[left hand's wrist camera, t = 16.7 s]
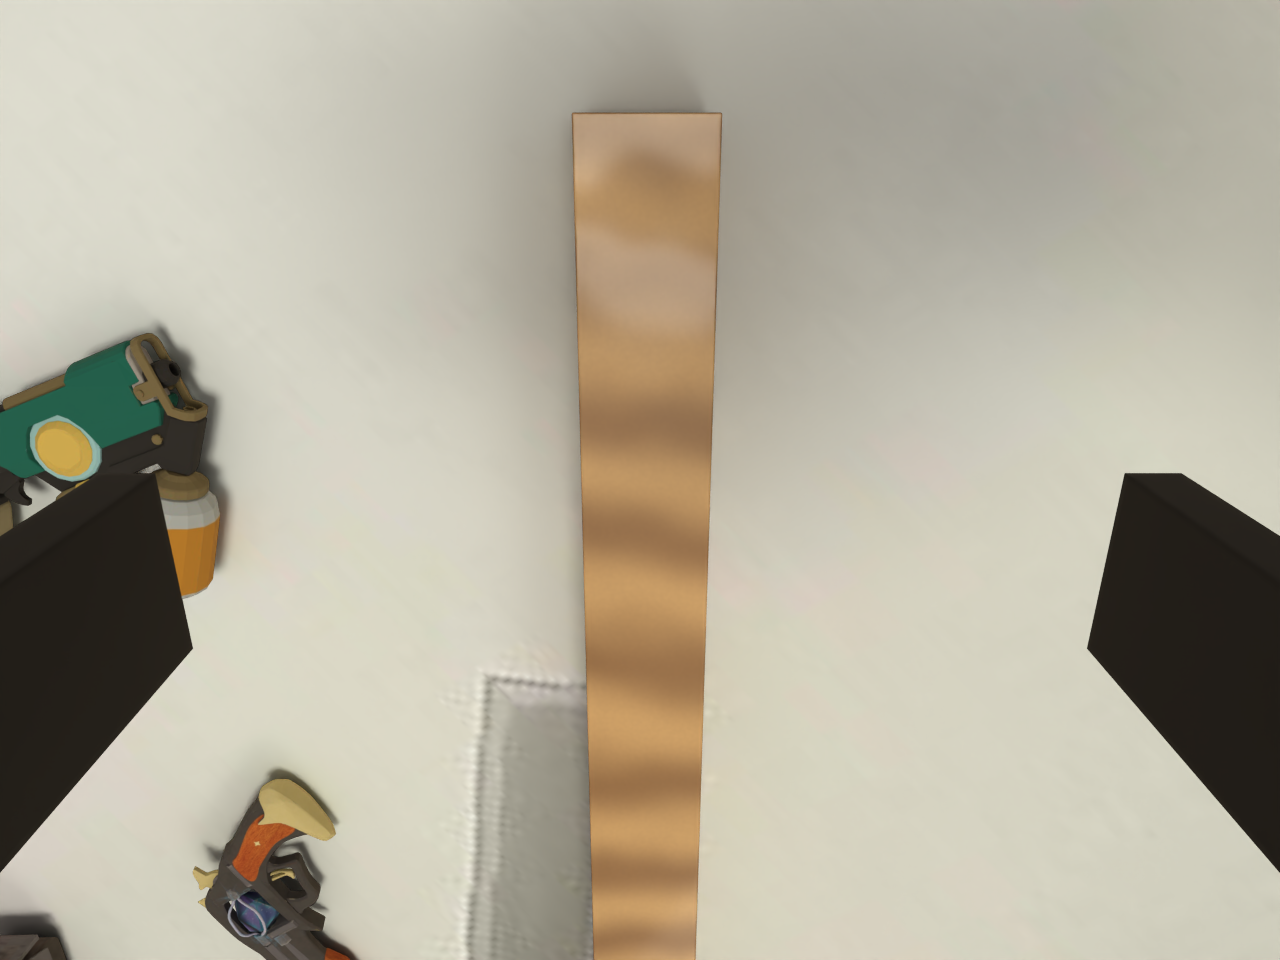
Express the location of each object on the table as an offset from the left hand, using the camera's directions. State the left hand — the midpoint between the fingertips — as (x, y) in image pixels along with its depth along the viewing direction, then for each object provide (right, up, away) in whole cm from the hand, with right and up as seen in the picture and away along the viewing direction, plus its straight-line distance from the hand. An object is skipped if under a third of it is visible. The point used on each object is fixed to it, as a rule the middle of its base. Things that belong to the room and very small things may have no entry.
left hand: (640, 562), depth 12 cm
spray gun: (-29, +1, +35) cm, 45 cm away
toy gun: (-21, -26, +46) cm, 56 cm away
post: (0, -15, +41) cm, 44 cm away
